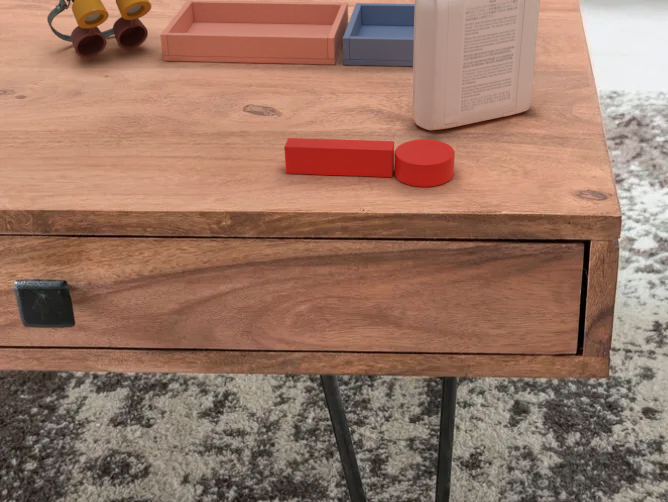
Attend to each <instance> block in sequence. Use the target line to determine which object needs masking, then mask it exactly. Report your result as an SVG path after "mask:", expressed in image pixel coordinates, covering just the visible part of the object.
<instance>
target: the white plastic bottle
mask: <svg viewBox="0 0 668 502" xmlns="http://www.w3.org/2000/svg"><path fill="white" fill-rule="evenodd" d="M414 4H415V14H414V53H413V66H412V114H413V115H414V116H413V120H414V123H415V124H416V125H417V126H418V127H419V128H422V129H424V130H426V131H427V130H428V131H436V130H438V131H439V130H445V129H451V128H456V127H460V126H466V125H470V124H474V123H481V122H484V121H489V120H493V119H494V120H495V119H499V118H503V117H508V116H509V117H510V116H512V115H517V114H520V113H524V112H526V111H528V110H529V109H530V107H531V104H532V95H533V83H534V73H535V72H534V71H535V62H536V61H535V60H536V48H537V38H538V28H539V17H540V5H541V0H414Z"/></svg>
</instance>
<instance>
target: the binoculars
mask: <svg viewBox="0 0 668 502" xmlns="http://www.w3.org/2000/svg"><path fill="white" fill-rule="evenodd" d="M71 3H72V6H71V11H72V14H73V16H74V19H75V21H76V24H77V26H76V27H74V29H73V30H72V31H71V33H70V35H68V34H64V33H61V32H60V31H58V30H57V29H55V27H53V24H52V23H53V21H54V19H55V18H56V17H57V16H58V15H59V14H61V13H62V12H65V10H68V9H69V8H70V5H71ZM115 4H116V6H117V8H118V11H119V14H120V16H121V17H119V18H118V19H116V20H115V22H114V23H113V25H112V28H109V29H107V30H104V31H102V30H100V29H99V27H100V26H101V25H102V24H104V23H105V22H106V21H108V18H109V15H110V14H109V12H108V10H107V9H106V7H105V5H104V3H103V2H102V0H58V4H56V5H55V7H54V8H52V10H51V11H50V12H49V13H48V15H47V18H46V21H47V23H48V27H49V28H50V31H52V33H53V34H54V35H55V36H56V37H58V38H59V39H61V40H63V41H65V42H70V43H72V46H73V50H74V52H75V54H76V55H77V56H78V57H80V58H83V59H90V58H95V57H96V56H98V55H100V54H101V53H102V52H103V51H104V50H105V49H106V46H107V42H108V40H107V38H108V37H111V36H113V35H114V38H115V40H116V41H115V42H116V43H117V45H118V47H119V48H121V49H123V50H132V49H135V48H138V47H140V46H141V45H143V43H144V42H145V41H146V40H147V38H148V35H149V32H148V31H149V30H148V28H147V27H146V26H145V24H144V23H143V22H142V21H141V19H140V18H142V17H144V16H146V15H147V14H148V13H149V12H150V11H151V10H152V3H151V2H150V0H115Z"/></svg>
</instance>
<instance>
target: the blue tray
mask: <svg viewBox="0 0 668 502" xmlns="http://www.w3.org/2000/svg"><path fill="white" fill-rule="evenodd" d="M414 14H415V3H385V2H383V3H382V2H381V3H376V2H374V3H373V2H356V3H355V5H354V8H353V10H352V13H351V16H350V18H349V20H348V26H347V29H346V31H345V34H344V36H343V43H342V59H343V60H342V63H343V65H344V66H375V67H377V66H378V67H413V53H414Z"/></svg>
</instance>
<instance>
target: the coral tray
mask: <svg viewBox="0 0 668 502" xmlns="http://www.w3.org/2000/svg"><path fill="white" fill-rule="evenodd" d="M348 23H349V3H348V2H326V1H325V2H323V1H322V2H319V1H317V2H316V1H266V0H265V1H263V0H262V1H261V0H259V1H258V0H256V1H255V0H186V1H185V3H184V4H183V5H182V6H181V8H180V9H179V10H178V11H177V13H176V14H175V15H174V16H173V18H172V19H171V21H169V23H168V24H167V25H166V27H165V28H164V29H163V31H162V32H161V33H160V36H159V37H160V42H161V43H160V44H161V52H162V58H163V61H165V62H198V63H199V62H203V63H205V62H206V63H245V64H246V63H250V64H289V65H294V64H295V65H333V66H334V65H335V64H336V62H337V60H338V56H339V54H340V51H341V49H342V47H343V36H344V34H345V31H346V29H347V26H348Z"/></svg>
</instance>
